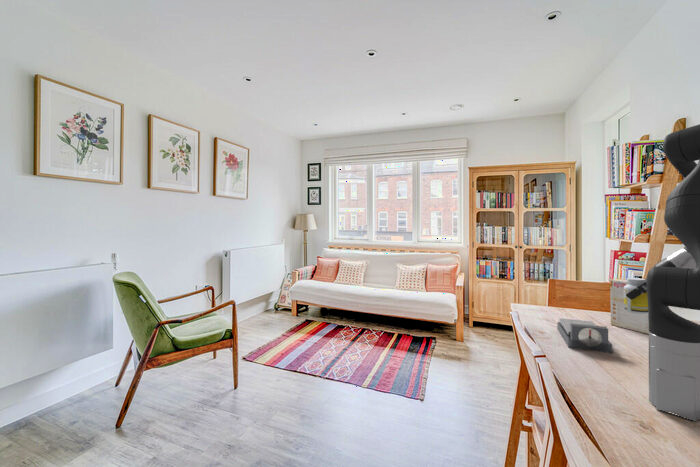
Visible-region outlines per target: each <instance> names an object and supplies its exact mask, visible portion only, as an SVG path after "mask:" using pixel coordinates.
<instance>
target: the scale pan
mask: <svg viewBox="0 0 700 467" xmlns="http://www.w3.org/2000/svg"><path fill="white" fill-rule="evenodd" d="M558 322H560V323H561V325H562V326H563V328H564V329H565V331H566V332H567V334H568V335H570V323H571V324H582V325H592V326H597V325H596V324H595V323H594V322H593V320H581V319H571V318H570V319H568V318H561V317H560V318H558Z"/></svg>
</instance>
